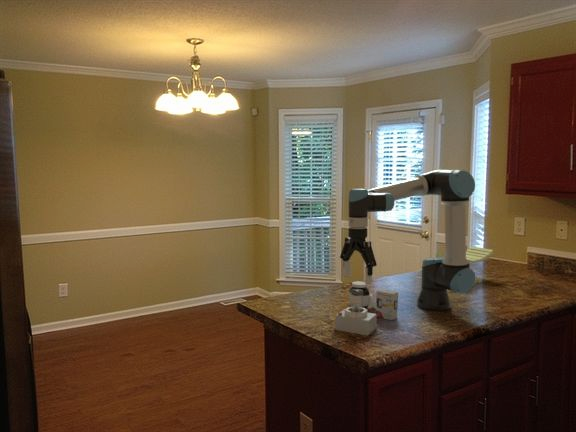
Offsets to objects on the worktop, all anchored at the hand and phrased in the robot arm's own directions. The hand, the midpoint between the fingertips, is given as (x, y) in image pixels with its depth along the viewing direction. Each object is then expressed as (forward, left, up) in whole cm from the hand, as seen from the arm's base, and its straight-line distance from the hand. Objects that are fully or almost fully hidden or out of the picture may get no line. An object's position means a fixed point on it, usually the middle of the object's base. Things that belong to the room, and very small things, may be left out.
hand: (357, 279), depth 197 cm
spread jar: (+8, -30, -21) cm, 37 cm away
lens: (0, 0, -14) cm, 14 cm away
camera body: (0, 0, -20) cm, 20 cm away
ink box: (-6, -21, -21) cm, 30 cm away
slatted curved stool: (-23, -111, -21) cm, 115 cm away
